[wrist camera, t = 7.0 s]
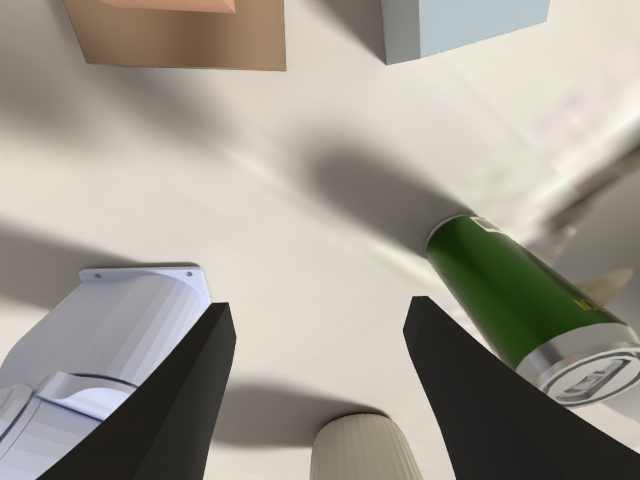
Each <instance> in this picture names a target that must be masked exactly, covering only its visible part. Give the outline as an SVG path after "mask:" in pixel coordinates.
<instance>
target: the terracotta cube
mask: <svg viewBox="0 0 640 480" xmlns="http://www.w3.org/2000/svg"><path fill="white" fill-rule="evenodd" d="M99 1H101V2H104V3H106V4H109V5H111V6H114V7H123V8H142V9H161V10H180V11H199V12H218V13H235V5H234V0H99Z"/></svg>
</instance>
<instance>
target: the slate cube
mask: <svg viewBox="0 0 640 480" xmlns="http://www.w3.org/2000/svg"><path fill="white" fill-rule="evenodd" d="M549 3H550V0H381V10H382V21H383V33H384V44H385V55H386V65H391V64H396V63H400V62H405V61H410V60H415V59H420V58H424V57H427V56H430V55H434V54H437V53H441V52H444V51H447V50H451V49H454V48H458V47H461V46H464V45H468V44H471V43H475V42H478V41H482V40H485V39H488V38H492V37H495V36H499V35H502V34H505V33H509V32H512V31H516V30H519V29H523V28H526V27H529V26H533V25H536V24H540V23H543V22H546V20H547V15H548V9H549Z"/></svg>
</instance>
